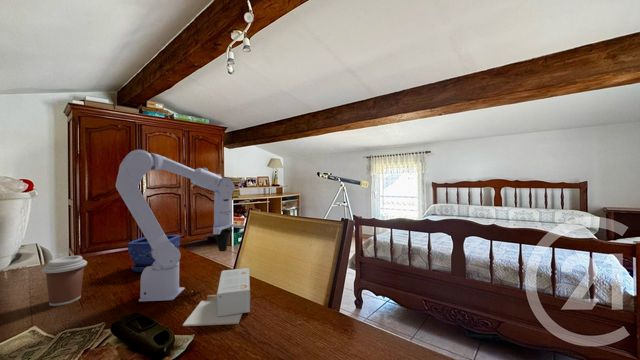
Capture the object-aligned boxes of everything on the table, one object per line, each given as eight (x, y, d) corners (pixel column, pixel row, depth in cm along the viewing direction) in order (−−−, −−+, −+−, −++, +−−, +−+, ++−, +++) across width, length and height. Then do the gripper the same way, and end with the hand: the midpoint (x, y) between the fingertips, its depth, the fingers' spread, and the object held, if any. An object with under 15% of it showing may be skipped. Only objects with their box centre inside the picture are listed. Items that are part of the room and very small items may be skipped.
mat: (182, 326, 60) (182, 324, 60) (201, 302, 72) (201, 300, 72) (238, 323, 61) (238, 322, 61) (247, 300, 73) (247, 298, 73)
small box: (221, 290, 76) (216, 317, 63) (221, 270, 75) (216, 293, 63) (249, 286, 78) (250, 312, 65) (249, 267, 77) (249, 289, 65)
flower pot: (161, 274, 93) (161, 242, 93) (125, 274, 93) (126, 242, 93) (181, 263, 106) (181, 234, 106) (150, 262, 106) (150, 234, 106)
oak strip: (207, 301, 72) (207, 296, 72) (208, 300, 73) (208, 295, 73) (249, 299, 73) (249, 294, 73) (250, 298, 74) (250, 293, 74)
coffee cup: (34, 304, 70) (35, 261, 70) (76, 291, 79) (76, 253, 79) (52, 311, 67) (52, 266, 67) (93, 296, 75) (94, 256, 75)
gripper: (229, 214, 81) (229, 256, 81) (239, 209, 95) (239, 245, 95) (206, 214, 80) (206, 257, 80) (220, 209, 95) (219, 245, 94)
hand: (222, 250), depth 88 cm, fingers closed
